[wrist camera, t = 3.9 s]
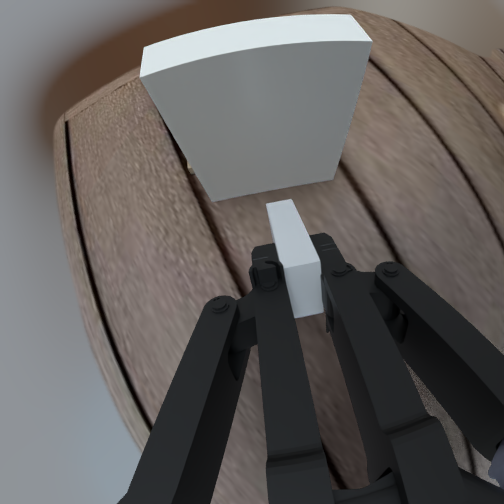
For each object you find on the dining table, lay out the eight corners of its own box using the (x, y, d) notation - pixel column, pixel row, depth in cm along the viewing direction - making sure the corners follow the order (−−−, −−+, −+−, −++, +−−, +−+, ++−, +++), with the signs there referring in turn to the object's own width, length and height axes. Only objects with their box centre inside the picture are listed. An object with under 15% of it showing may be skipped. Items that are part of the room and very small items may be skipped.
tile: (333, 179, 23) (372, 41, 9) (212, 202, 23) (139, 77, 10) (324, 153, 23) (349, 13, 10) (208, 174, 24) (144, 46, 10)
